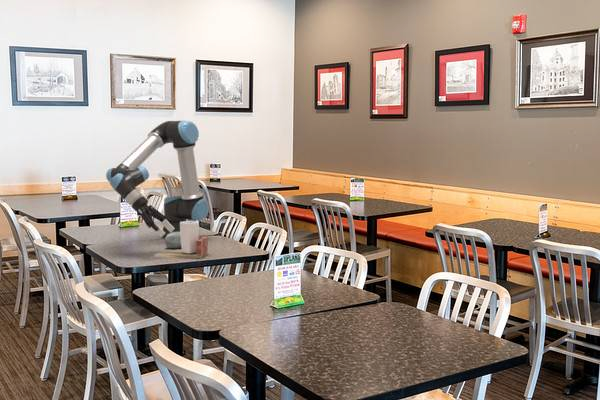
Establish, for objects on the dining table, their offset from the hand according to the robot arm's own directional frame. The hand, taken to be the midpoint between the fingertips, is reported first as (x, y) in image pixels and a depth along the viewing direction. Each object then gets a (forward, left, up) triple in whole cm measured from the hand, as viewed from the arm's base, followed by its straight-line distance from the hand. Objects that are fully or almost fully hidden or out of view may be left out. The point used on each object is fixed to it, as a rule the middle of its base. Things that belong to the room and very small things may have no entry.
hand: (168, 232), depth 309 cm
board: (0, +7, -11) cm, 13 cm away
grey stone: (-20, -1, -11) cm, 23 cm away
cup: (0, +10, -10) cm, 14 cm away
